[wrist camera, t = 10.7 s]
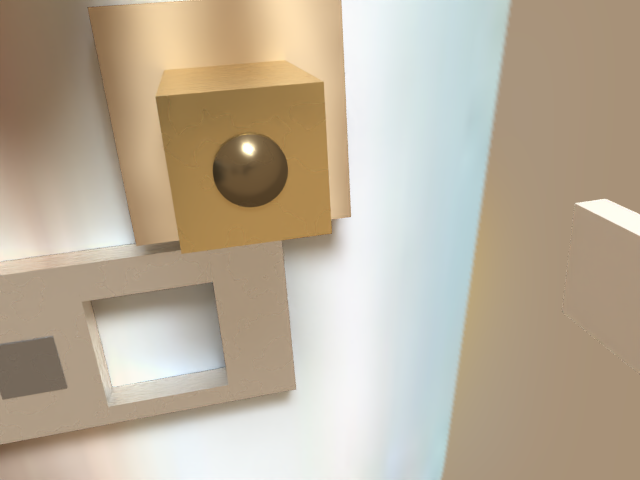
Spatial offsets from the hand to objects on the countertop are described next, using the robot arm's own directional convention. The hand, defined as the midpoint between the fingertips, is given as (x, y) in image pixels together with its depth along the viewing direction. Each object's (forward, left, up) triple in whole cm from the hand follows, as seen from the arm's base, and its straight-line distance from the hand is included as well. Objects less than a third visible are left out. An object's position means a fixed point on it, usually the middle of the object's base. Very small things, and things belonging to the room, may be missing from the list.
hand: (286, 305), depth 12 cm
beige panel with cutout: (-9, -13, -23) cm, 27 cm away
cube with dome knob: (0, 0, -20) cm, 20 cm away
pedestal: (0, 0, -23) cm, 23 cm away
